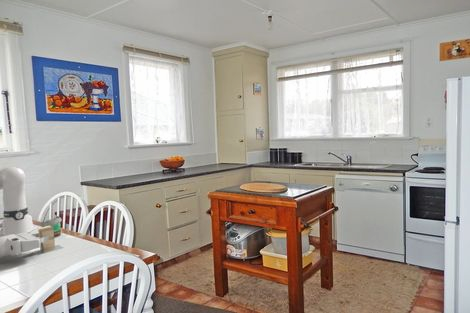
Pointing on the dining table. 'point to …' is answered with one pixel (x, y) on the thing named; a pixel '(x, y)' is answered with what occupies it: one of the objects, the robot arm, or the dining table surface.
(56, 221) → the food container
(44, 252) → the board
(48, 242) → the birch block
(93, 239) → the dining table surface
